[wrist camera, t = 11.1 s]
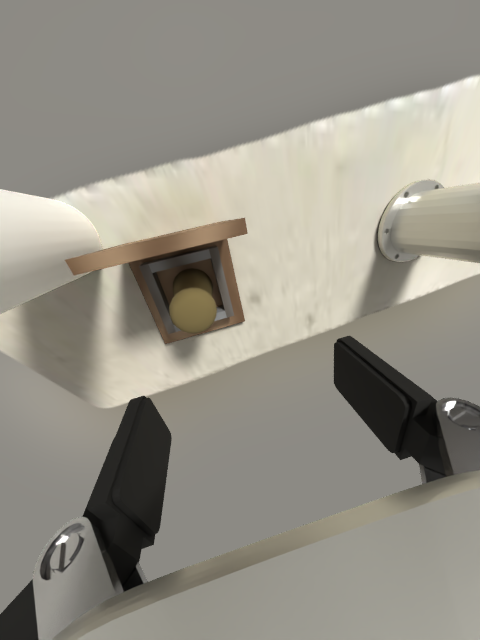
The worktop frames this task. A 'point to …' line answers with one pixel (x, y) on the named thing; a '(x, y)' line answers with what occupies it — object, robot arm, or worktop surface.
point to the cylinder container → (39, 246)
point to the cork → (192, 301)
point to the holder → (177, 270)
